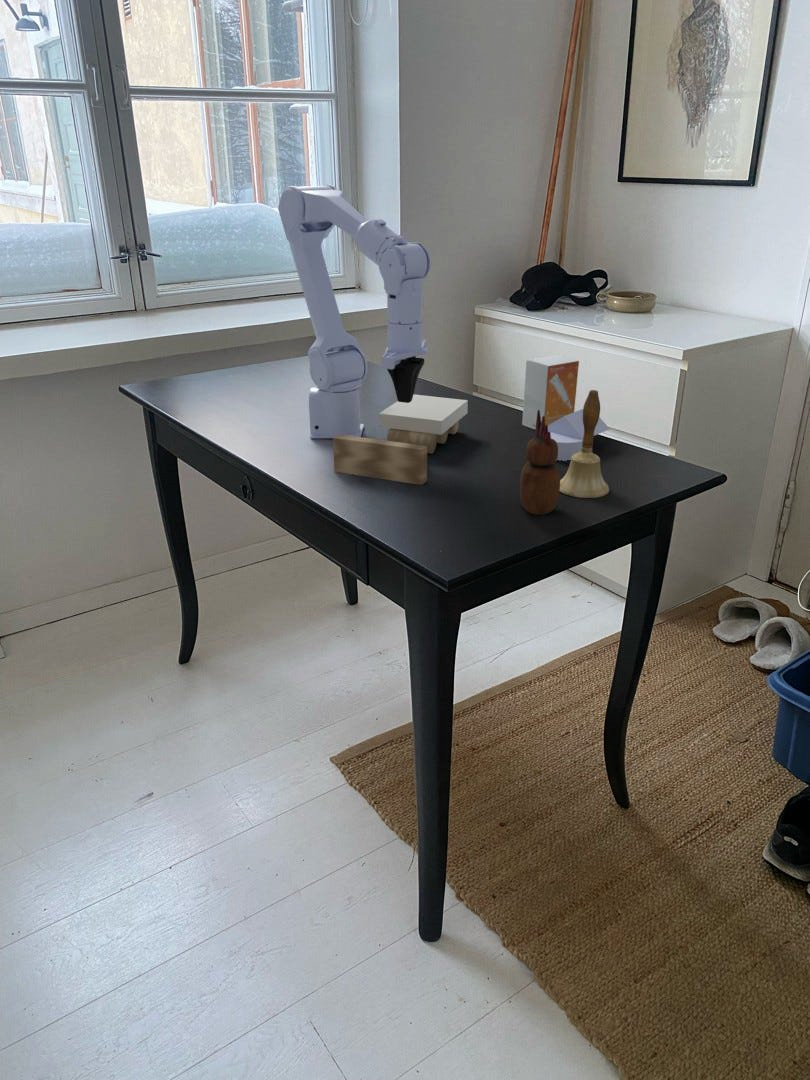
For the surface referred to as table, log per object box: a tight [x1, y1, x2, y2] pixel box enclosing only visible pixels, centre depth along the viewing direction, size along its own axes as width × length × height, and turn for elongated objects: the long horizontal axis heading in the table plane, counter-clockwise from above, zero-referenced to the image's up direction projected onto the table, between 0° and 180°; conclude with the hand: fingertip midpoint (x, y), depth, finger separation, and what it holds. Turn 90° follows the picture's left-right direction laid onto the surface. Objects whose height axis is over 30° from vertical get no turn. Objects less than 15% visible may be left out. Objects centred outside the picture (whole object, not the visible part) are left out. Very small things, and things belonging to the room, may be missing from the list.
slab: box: [378, 393, 469, 435], centre depth 150 cm, size 12×14×2 cm
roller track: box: [386, 420, 460, 454], centre depth 148 cm, size 8×25×4 cm, turn 157°
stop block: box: [332, 434, 428, 486], centre depth 135 cm, size 16×2×6 cm, turn 67°
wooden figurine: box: [519, 410, 561, 516], centre depth 120 cm, size 7×6×15 cm
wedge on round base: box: [548, 408, 610, 462], centre depth 146 cm, size 9×7×13 cm
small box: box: [521, 354, 580, 430], centre depth 158 cm, size 8×6×13 cm
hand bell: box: [559, 389, 610, 499], centre depth 127 cm, size 8×8×16 cm
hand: (404, 401), depth 141 cm, fingers closed
